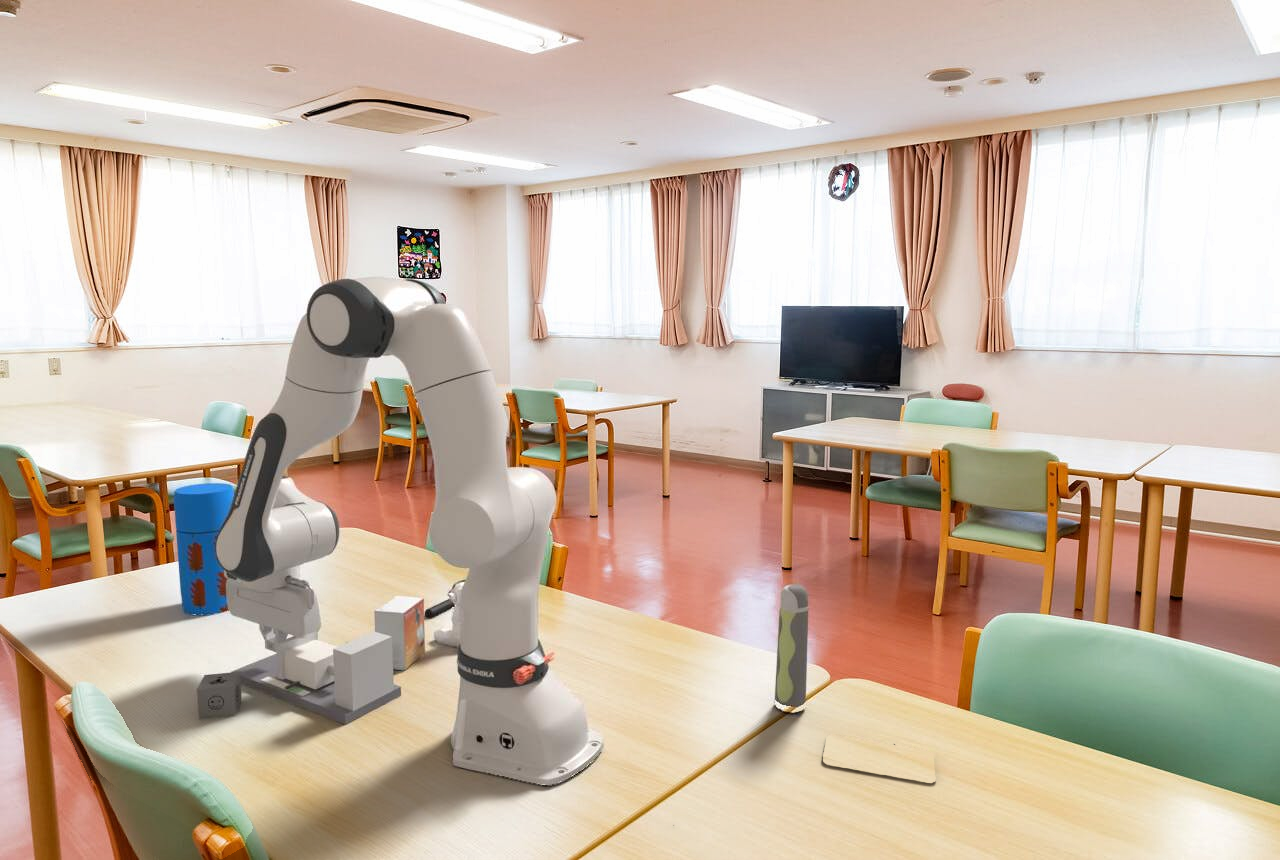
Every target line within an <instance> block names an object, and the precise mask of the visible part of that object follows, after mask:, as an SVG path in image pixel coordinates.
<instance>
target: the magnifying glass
mask: <svg viewBox="0 0 1280 860" xmlns="http://www.w3.org/2000/svg"><path fill="white" fill-rule="evenodd" d="M465 580H466V578H465V579H463V580H459V581H457V582H455V583H454V584H453V585H452V588H451V590H452V589H453V588H454V587H455V585H456V584H459V583H461V582H465ZM454 606H455V605H454V603H453V602H452V601H451V600H450V598H448V599H446V600H444V601H442V602H440V603H437V604H435V605H433V606H431V607H428V608H427V609H426V610H424V618H428V619H434V618H435V617H438V616H440V615H442V614H444V613H445V611H446V612H448V611H450V610H452V609H453V608H452V607H454ZM451 608H452V609H451ZM449 609H450V610H449ZM447 610H448V611H447ZM443 612H444V613H443ZM441 613H442V614H441ZM439 614H440V615H439Z"/></svg>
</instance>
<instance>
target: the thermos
mask: <svg viewBox="0 0 1280 860" xmlns="http://www.w3.org/2000/svg"><path fill="white" fill-rule="evenodd" d="M233 487H234V486H233V485H232V484H229V483H221V482H211V483H196V484H190V485H189V484H188V485H186V486H181V487H178V488H176V489H175V490H174V492H173V506H174V507H173V509H174V519H175V534H176V535H175V536H176V547H177V548H176V549H177V560H178V562H177V563H178V573H179V576H178V578H179V588H180V596H181V597H180V599H181V604H182V611H183V610H184V611H183V613H184V612H185V613H184V614H187V613H188V614H187V615H189V614H196V615H195V616H208V615H207V614H211V615H215V614H214V613H218V614H221V613H220V612H222V613H225V612H224V611H226V612H228V611H229V609H228V606H227V597H226V581H227V579H228V578H226V577H225V576H224V569H223V568H222V567H221V566H220V564H219V563H218V560H217V557H216V552H215V543H216V538H217V535H218V532H219V530H220V528H221V526H222V524H223V522H224V520H225V518H226V516H227V514H228V512H229V509H230V506H231V503H232V500H233V497H234V493H235V490H234V488H233ZM227 610H228V611H227ZM201 614H203V615H201Z"/></svg>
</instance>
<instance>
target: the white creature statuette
mask: <svg viewBox="0 0 1280 860" xmlns="http://www.w3.org/2000/svg"><path fill="white" fill-rule="evenodd" d="M463 584H464V582H461V583H459V584H456V585H455V587H454V588H453V589H452V588H451V590H450V592H449V593H448V595H449V599H450V600H451V601H452V602H453V603H454V605H456V606H454V608H453V611H452V614H451V623H452V627H451V629H452V630H451V629H450V628H448V627H447V628H445V627H440V628H439V629H437V630H435V631H434V632H433V638H434V640H435V641H436V642H437V643H438V644H443V645H446V646H450V647H454V648H457V649H458V646H459V644H460V593H461V589H462V586H463Z"/></svg>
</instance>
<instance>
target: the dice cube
mask: <svg viewBox="0 0 1280 860" xmlns="http://www.w3.org/2000/svg"><path fill="white" fill-rule="evenodd" d="M196 696H197V697H196V698H197V699H196V700H197V713H198V714H197V715H198V720H199V721H201V720H212V719H219V718H227V717H228V718H229V717H236V715H237V712H238V710H239V709H240V708H239V707H240V705H241V703H242V689H241V684H240V672H232V671H230V672H221V673H220V672H219V673H211V674H204V675H203V677H202V678H201V680H200V682H199V684H198V686H197V688H196Z"/></svg>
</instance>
